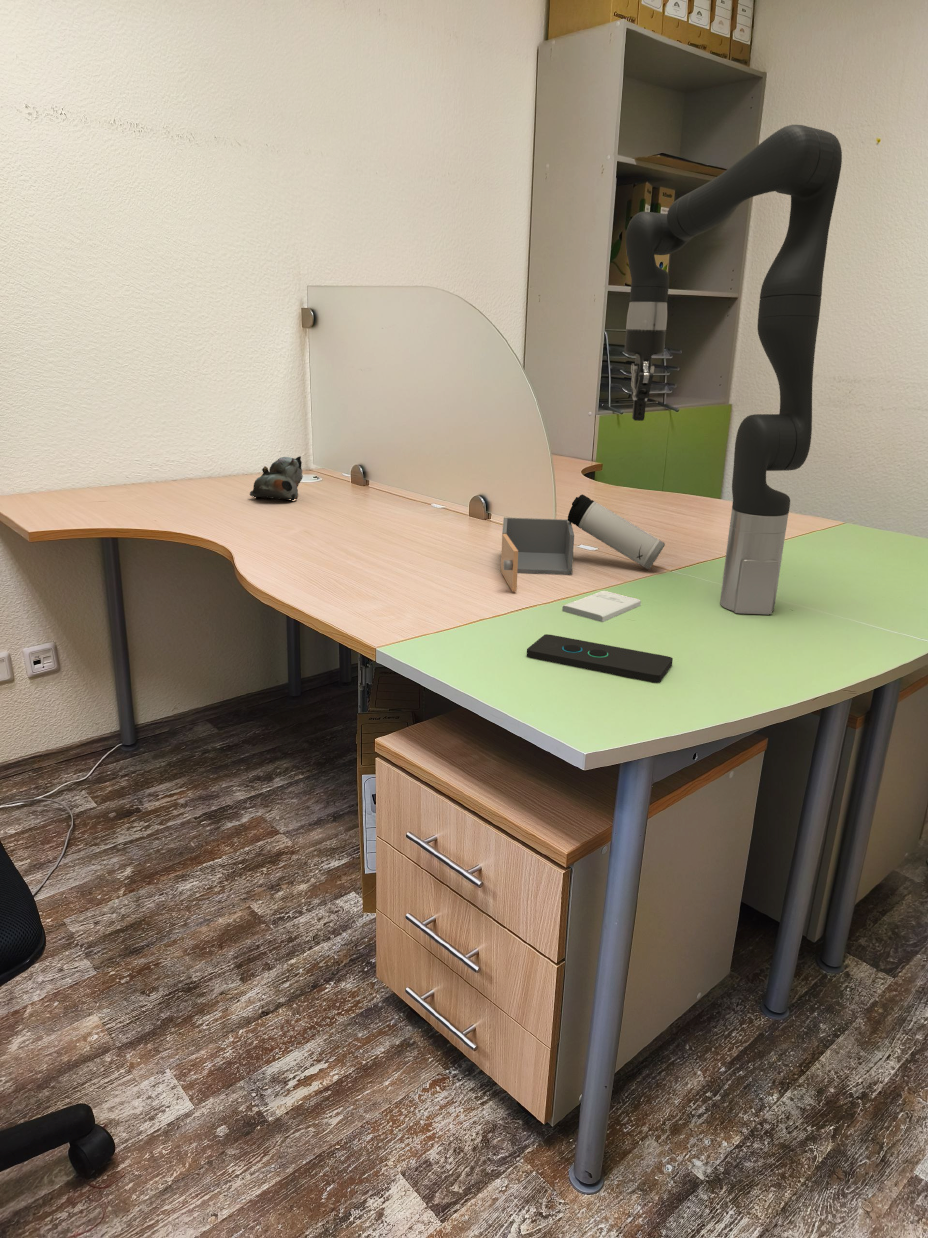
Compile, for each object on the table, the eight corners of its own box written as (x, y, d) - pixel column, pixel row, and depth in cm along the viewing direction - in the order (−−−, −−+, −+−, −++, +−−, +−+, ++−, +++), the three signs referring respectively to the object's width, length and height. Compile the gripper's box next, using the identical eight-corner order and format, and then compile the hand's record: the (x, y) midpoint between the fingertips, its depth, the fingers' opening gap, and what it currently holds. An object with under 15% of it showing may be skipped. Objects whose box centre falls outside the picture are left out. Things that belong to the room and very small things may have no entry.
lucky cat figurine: (245, 496, 231) (259, 449, 232) (286, 511, 236) (300, 465, 238) (257, 490, 218) (272, 440, 219) (300, 506, 223) (315, 457, 224)
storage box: (571, 574, 164) (574, 535, 162) (500, 572, 165) (502, 532, 163) (568, 556, 178) (570, 519, 175) (502, 554, 178) (503, 517, 176)
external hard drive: (561, 613, 144) (601, 597, 152) (602, 625, 139) (640, 607, 147) (562, 604, 143) (601, 589, 152) (602, 615, 138) (641, 599, 147)
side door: (504, 591, 152) (506, 551, 149) (493, 571, 164) (495, 533, 162) (516, 591, 152) (518, 551, 150) (504, 571, 164) (506, 533, 162)
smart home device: (545, 632, 130) (674, 656, 121) (545, 642, 130) (672, 667, 122) (525, 649, 123) (659, 675, 114) (524, 660, 123) (658, 687, 115)
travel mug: (651, 563, 164) (565, 511, 168) (646, 573, 170) (563, 523, 174) (668, 538, 165) (582, 487, 169) (662, 549, 172) (580, 500, 175)
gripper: (671, 328, 153) (662, 424, 159) (660, 328, 166) (652, 417, 171) (630, 327, 154) (622, 423, 159) (622, 327, 166) (615, 416, 172)
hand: (638, 419), depth 165 cm, fingers closed
